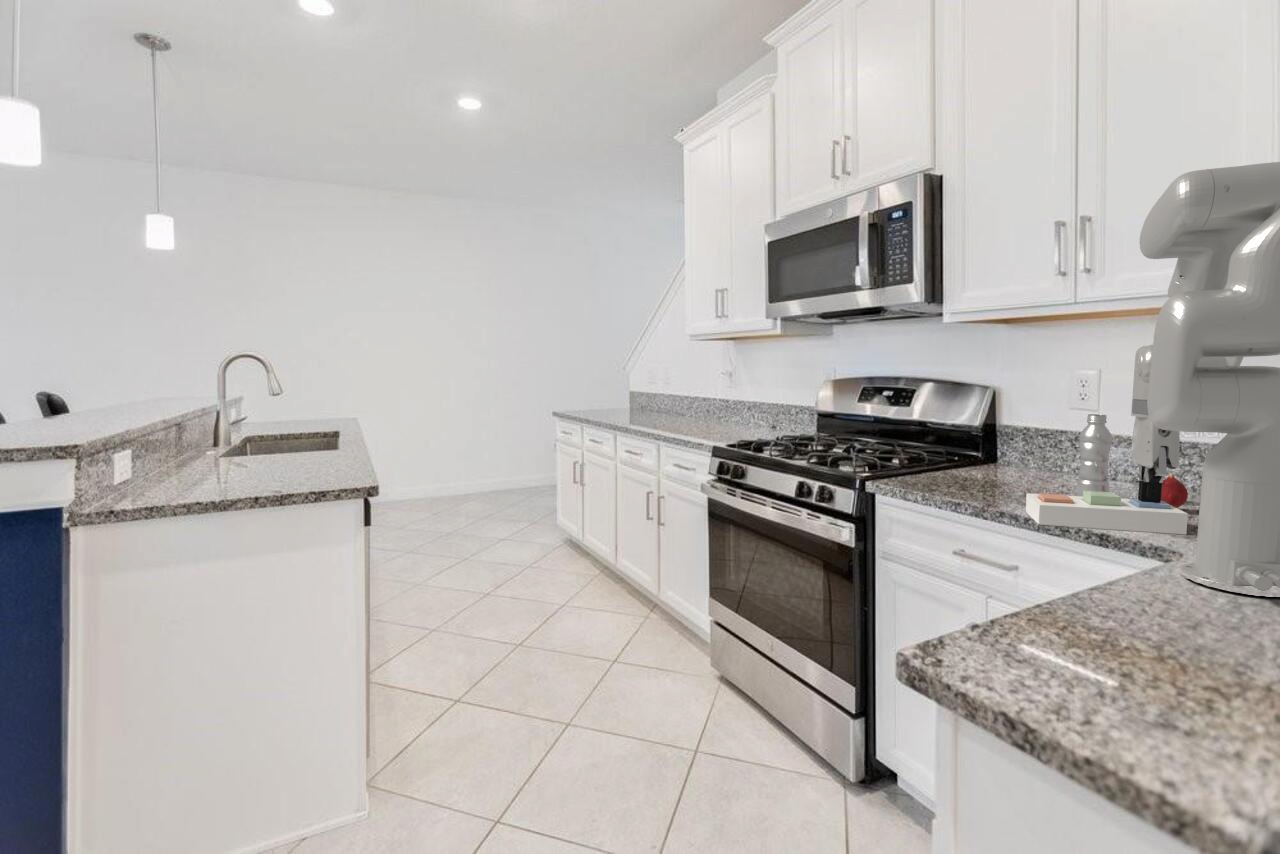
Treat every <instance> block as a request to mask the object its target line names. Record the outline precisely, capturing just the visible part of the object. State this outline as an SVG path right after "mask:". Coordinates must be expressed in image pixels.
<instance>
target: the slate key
mask: <svg viewBox="0 0 1280 854" xmlns="http://www.w3.org/2000/svg"><path fill="white" fill-rule="evenodd" d="M1129 499H1130V500H1129V503H1130V504H1132V505H1134V506H1136V507H1138V508H1155V509H1170V505H1169V504H1167V503H1165V502H1163V501H1161V502H1160V503H1154V502H1142V501H1140V500H1138V498H1129Z"/></svg>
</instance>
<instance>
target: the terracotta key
mask: <svg viewBox="0 0 1280 854" xmlns="http://www.w3.org/2000/svg"><path fill="white" fill-rule="evenodd" d="M1037 494H1038V498H1039V499H1040V500H1041V501H1042V502H1050V503H1068V504H1073V499H1071V498H1070V497H1068V496H1069V495H1067V494H1057V493H1056V494H1055V493H1054V494H1052V493H1037Z"/></svg>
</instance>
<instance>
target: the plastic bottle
mask: <svg viewBox="0 0 1280 854" xmlns="http://www.w3.org/2000/svg"><path fill="white" fill-rule="evenodd" d="M1107 418H1108V417H1107V414H1099V413H1098V414H1095V413H1094V414H1093V413H1092V414H1089V413H1087V419H1086V423H1087V424H1086V426H1085V427H1084V428H1083V429H1082V431H1081V432H1080V433H1079V436H1078V437H1079V438H1078V439H1079V440H1078V441H1079V443H1078V444H1079V450H1080V451H1079V453H1080V467H1079V474H1078V478H1077V481H1076V485H1075V491H1076V495H1077V496H1083V491H1095V492H1111V490H1110V482H1109V468H1108V466H1109V459H1110V453H1111V447H1112V442H1113V436H1112V435H1113V434H1111V432H1110V430H1109V428H1108V427H1107V426H1106V424H1107V422H1108V421H1107Z"/></svg>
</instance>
